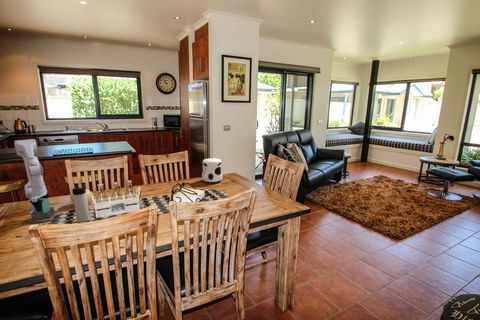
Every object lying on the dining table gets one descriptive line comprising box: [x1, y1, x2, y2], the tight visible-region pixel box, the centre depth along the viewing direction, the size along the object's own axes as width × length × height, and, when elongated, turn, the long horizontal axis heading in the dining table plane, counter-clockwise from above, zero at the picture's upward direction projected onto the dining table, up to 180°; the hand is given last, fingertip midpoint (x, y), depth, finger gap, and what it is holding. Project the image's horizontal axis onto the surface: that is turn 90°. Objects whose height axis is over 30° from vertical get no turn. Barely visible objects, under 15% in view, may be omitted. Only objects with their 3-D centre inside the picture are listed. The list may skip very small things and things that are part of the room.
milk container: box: [201, 157, 224, 184], centre depth 214 cm, size 17×17×18 cm
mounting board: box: [26, 210, 59, 225], centre depth 147 cm, size 13×11×1 cm
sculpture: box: [70, 188, 94, 205], centre depth 165 cm, size 12×12×11 cm
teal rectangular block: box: [34, 197, 51, 214], centre depth 145 cm, size 5×5×8 cm
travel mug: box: [71, 186, 91, 224], centre depth 141 cm, size 6×7×20 cm
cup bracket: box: [28, 206, 57, 221], centre depth 146 cm, size 10×10×3 cm
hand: (42, 209), depth 145 cm, fingers closed on teal rectangular block, 6 cm apart
